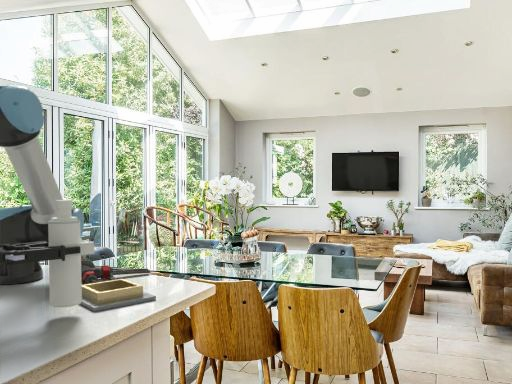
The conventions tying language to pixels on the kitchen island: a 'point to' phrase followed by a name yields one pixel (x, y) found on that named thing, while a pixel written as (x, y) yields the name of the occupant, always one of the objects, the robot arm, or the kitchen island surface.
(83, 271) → the power drill
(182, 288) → the kitchen island surface
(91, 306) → the flange plate
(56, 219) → the white bottle
